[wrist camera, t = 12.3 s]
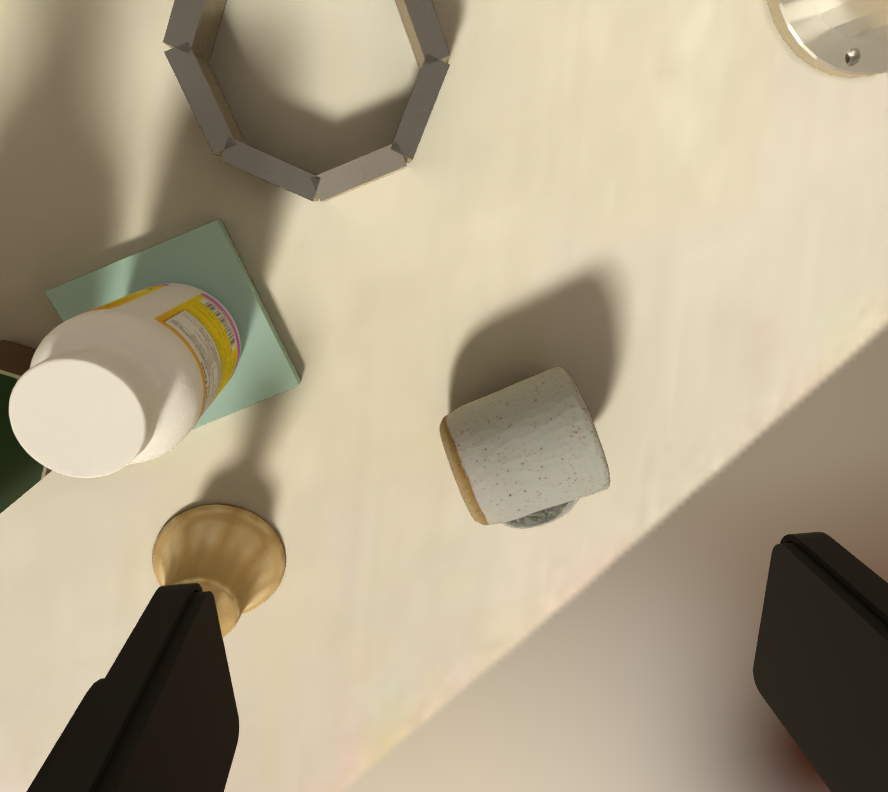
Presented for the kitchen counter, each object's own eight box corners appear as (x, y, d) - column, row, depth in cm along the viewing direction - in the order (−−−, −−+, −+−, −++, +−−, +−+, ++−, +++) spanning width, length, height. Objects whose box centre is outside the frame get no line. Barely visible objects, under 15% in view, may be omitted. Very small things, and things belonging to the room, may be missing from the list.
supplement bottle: (108, 376, 34) (-41, 474, 22) (134, 263, 32) (-11, 301, 20) (227, 411, 35) (150, 522, 23) (258, 305, 34) (192, 364, 22)
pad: (220, 219, 33) (216, 219, 32) (301, 380, 36) (299, 385, 35) (53, 289, 33) (44, 291, 32) (148, 443, 36) (142, 449, 36)
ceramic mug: (426, 401, 38) (439, 452, 30) (548, 349, 37) (590, 388, 30) (486, 535, 41) (510, 608, 34) (597, 488, 41) (645, 552, 34)
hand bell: (294, 604, 41) (247, 839, 26) (169, 621, 40) (46, 872, 25) (274, 495, 38) (209, 685, 23) (140, 511, 38) (-17, 717, 23)
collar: (379, -118, 29) (379, -152, 26) (468, 141, 33) (477, 136, 30) (143, -18, 29) (119, -41, 27) (261, 227, 33) (250, 230, 31)
